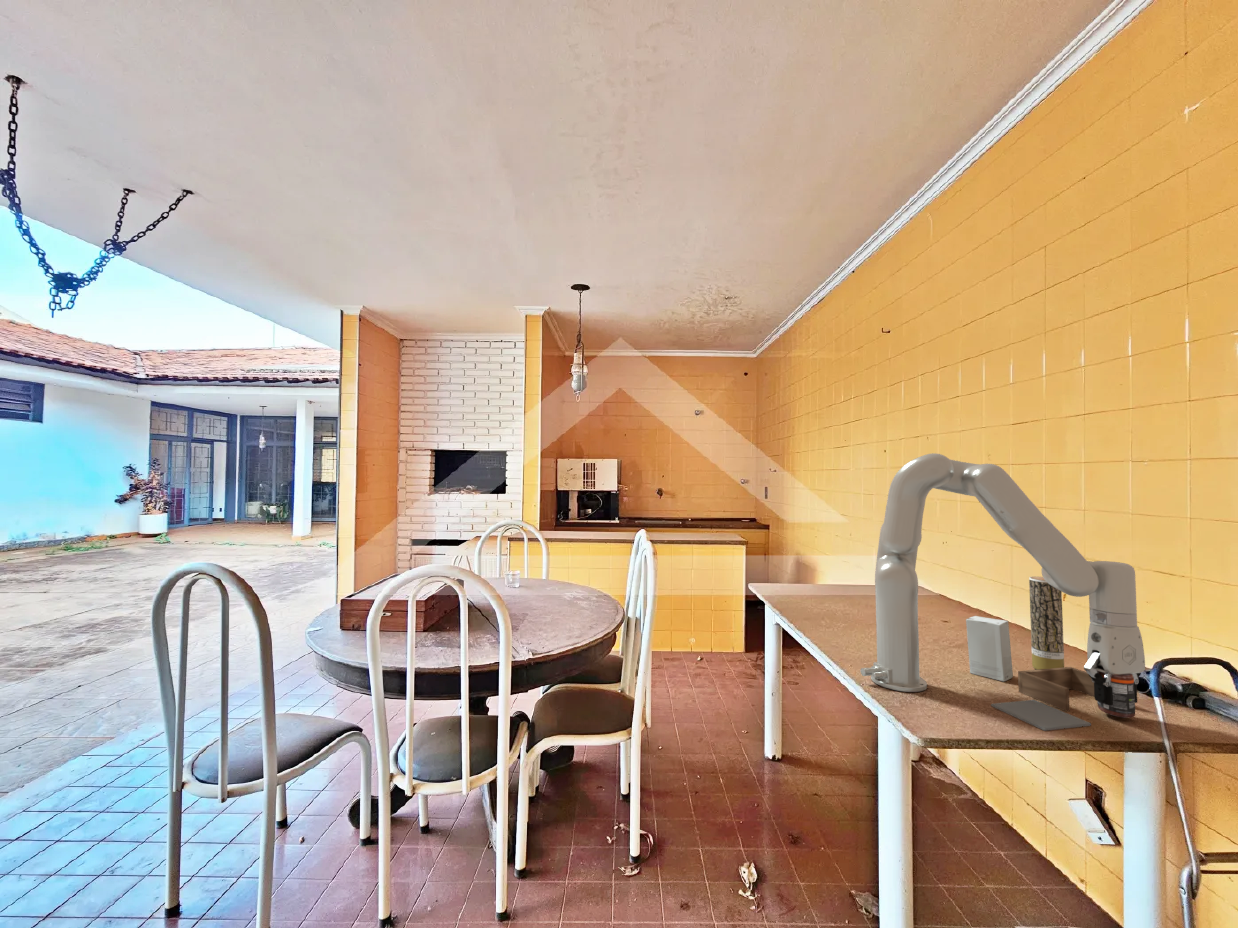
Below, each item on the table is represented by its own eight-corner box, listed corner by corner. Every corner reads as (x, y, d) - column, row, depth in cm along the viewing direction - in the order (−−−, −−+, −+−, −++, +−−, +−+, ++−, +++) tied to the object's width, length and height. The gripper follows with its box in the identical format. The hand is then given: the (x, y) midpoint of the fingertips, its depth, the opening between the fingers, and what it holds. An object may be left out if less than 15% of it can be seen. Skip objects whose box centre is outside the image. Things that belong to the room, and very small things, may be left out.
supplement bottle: (1099, 704, 115) (1097, 653, 115) (1136, 713, 110) (1134, 660, 111) (1095, 712, 111) (1093, 659, 112) (1134, 721, 107) (1132, 667, 107)
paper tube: (1069, 676, 134) (1066, 581, 136) (1038, 673, 137) (1035, 580, 138) (1057, 667, 141) (1053, 577, 142) (1027, 664, 143) (1024, 575, 144)
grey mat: (1044, 730, 104) (1044, 728, 104) (991, 705, 116) (991, 703, 116) (1090, 725, 107) (1090, 723, 107) (1034, 701, 118) (1034, 699, 118)
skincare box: (1013, 678, 133) (1011, 620, 134) (1003, 682, 130) (1002, 624, 131) (977, 668, 140) (975, 614, 141) (967, 672, 137) (965, 617, 138)
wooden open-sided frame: (1066, 711, 113) (1065, 688, 114) (1018, 691, 124) (1017, 671, 124) (1122, 705, 116) (1121, 683, 117) (1071, 686, 127) (1070, 666, 128)
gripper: (1101, 624, 106) (1104, 712, 105) (1164, 621, 110) (1167, 705, 109) (1063, 615, 114) (1065, 697, 113) (1123, 612, 117) (1126, 691, 116)
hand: (1115, 700), depth 111 cm, fingers closed on supplement bottle, 6 cm apart
